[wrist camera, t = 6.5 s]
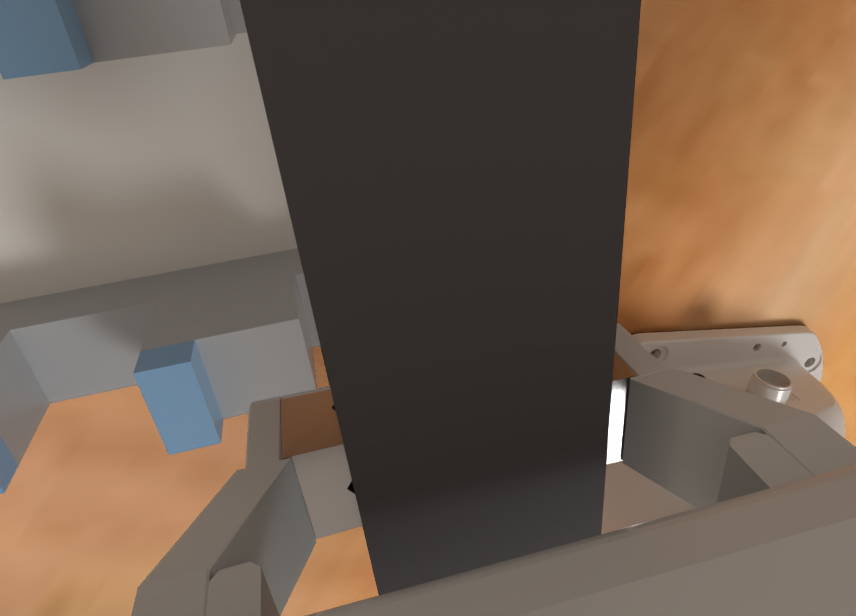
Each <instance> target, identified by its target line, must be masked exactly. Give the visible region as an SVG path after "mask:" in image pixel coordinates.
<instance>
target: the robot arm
mask: <svg viewBox="0 0 856 616" xmlns="http://www.w3.org/2000/svg"><path fill="white" fill-rule="evenodd" d="M653 350H654V351H653ZM652 351H653V352H652ZM651 352H652V353H651ZM822 369H823V355H822V349H821V345H820V342H819V340H818V338H817V336H816V334H815V333H814V332H812V331H811V330H810V329H809V328H808V327H806V326H800V325H797V326H775V327H755V328H735V329H714V330H694V331H674V332H654V333H638V334H634V335H631V334H630V333H629V332H628V331H627V330H626V329H625V328H624V327H623V326H622V325H620V324H618V323H617V329H616V343H615V356H614V370H613V383H612V396H611V410H610V423H609V437H608V450H607V464H606V477H605V490H604V504H603V517H602V531H601V535H597V536H593V537H590V538H586V539H582V540H579V541H575V542H572V543H568V544H564V545H561V546H557V547H553V548H550V549H546V550H542V551H539V552H535V553H532V554H528V555H524V556H521V557H517V558H513V559H510V560H506V561H502V562H499V563H495V564H492V565H488V566H484V567H481V568H477V569H473V570H470V571H466V572H462V573H459V574H455V575H452V576H448V577H444V578H441V579H437V580H433V581H430V582H426V583H422V584H419V585H415V586H412V587H408V588H404V589H401V590H397V591H393V592H390V593H386V594H382V595H379V596H375V597H371V598H368V599H364V600H361V601H357V602H353V603H350V604H346V605H342V606H339V607H335V608H331V609H328V610H324V611H321V612H317V613H313V614H310V615H306V616H856V447H855V446H853V445H852V444H851V443H850V442H848V441H847V440H846V439H845V436H846V424H845V418H844V415H843V412H842V409H841V407H840V405H839V403H838V402H837V400H836V399H835V397H834V396H833V395H832V393H831V392H830V391H829V390H828V389H827V388H826V387H825V386H824V385H823V384H822V383H821V378H822ZM360 526H363V525H362V521H361V517H360V513H359V508H358V504H357V500H356V495H355V491H354V487H353V483H352V478H351V474H350V470H349V466H348V461H347V457H346V453H345V448H344V444H343V440H342V436H341V431H340V427H339V423H338V419H337V414H336V410H335V406H334V401H333V397H332V393H331V389H330V386H329V387H324V388H319V389H314V390H309V391H303V392H298V393H293V394H288V395H283V396H281V397H274V398H269V399H265V400H260V401H255V402H252V403H251V405H250V407H249V416H248V433H247V451H246V468H245V469H241V470H237V471H236V472H235V473H234V474H233V475H232V477H231V478H230V479H229V480H228V481H227V483H226V484H225V485H224V486H223V487H222V489H221V490H220V491H219V492H218V493H217V494H216V496H215V497H214V498H213V499H212V500H211V502H210V503H209V504H208V505H207V506H206V508H205V509H204V510H203V511H202V512H201V513H200V515H199V516H198V517H197V518H196V519H195V521H194V522H193V523H192V524H191V525H190V527H189V528H188V529H187V530H186V531H185V532H184V534H183V535H182V536H181V537H180V538H179V540H178V541H177V542H176V543H175V544H174V545H173V547H172V548H171V549H170V550H169V551H168V553H167V554H166V555H165V556H164V557H163V559H162V560H161V561H160V562H159V563H158V564H157V566H156V567H155V568H154V569H153V570H152V572H151V573H150V574H149V575H148V576H147V578H146V579H145V580H144V581H143V582H142V583H141V585H140V586H139V587H138V589H137V593H136V598H135V602H134V607H133V611H132V615H131V616H280V615H281V613H282V611H283V609H284V607H285V605H286V603H287V601H288V599H289V597H290V595H291V592H292V590H293V588H294V586H295V584H296V582H297V580H298V578H299V576H300V574H301V572H302V570H303V568H304V566H305V564H306V562H307V560H308V558H309V556H310V554H311V552H312V550H313V547H314V545H315V543H316V540H315V539H318V538H322V537H325V536H329V535H332V534H336V533H339V532H343V531H346V530H350V529H353V528H357V527H360Z"/></svg>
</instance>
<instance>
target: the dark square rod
mask: <svg viewBox="0 0 856 616" xmlns="http://www.w3.org/2000/svg"><path fill="white" fill-rule="evenodd" d="M240 4H241V8H242V13H243V17H244V21H245V26H246V30H247V34H248V38H249V43H250V47H251V51H252V55H253V60H254V64H255V68H256V73H257V77H258V81H259V85H260V90H261V94H262V98H263V102H264V107H265V111H266V115H267V120H268V124H269V128H270V132H271V137H272V141H273V145H274V149H275V154H276V158H277V162H278V167H279V171H280V175H281V179H282V184H283V188H284V192H285V196H286V201H287V205H288V209H289V214H290V218H291V222H292V226H293V231H294V235H295V239H296V243H297V248H298V252H299V256H300V261H301V265H302V269H303V273H304V278H305V282H306V286H307V290H308V295H309V299H310V303H311V308H312V312H313V316H314V320H315V325H316V329H317V333H318V337H319V342H320V346H321V350H322V354H323V359H324V363H325V367H326V372H327V376H328V380H329V384H330V389H331V393H332V397H333V401H334V406H335V410H336V414H337V419H338V423H339V427H340V431H341V436H342V440H343V444H344V448H345V453H346V457H347V461H348V466H349V470H350V474H351V478H352V483H353V487H354V491H355V495H356V500H357V504H358V508H359V513H360V517H361V521H362V525H363V530H364V534H365V538H366V542H367V547H368V551H369V555H370V560H371V564H372V568H373V572H374V577H375V581H376V585H377V589H378V594H379V595H382V594H386V593H390V592H393V591H397V590H401V589H404V588H408V587H412V586H415V585H419V584H422V583H426V582H430V581H433V580H437V579H441V578H444V577H448V576H452V575H455V574H459V573H462V572H466V571H470V570H473V569H477V568H481V567H484V566H488V565H492V564H495V563H499V562H502V561H506V560H510V559H513V558H517V557H521V556H524V555H528V554H532V553H535V552H539V551H542V550H546V549H550V548H553V547H557V546H561V545H564V544H568V543H572V542H575V541H579V540H582V539H586V538H590V537H593V536H597V535H601V531H602V517H603V504H604V490H605V477H606V464H607V450H608V437H609V423H610V410H611V396H612V383H613V370H614V356H615V343H616V329H617V316H618V302H619V289H620V276H621V262H622V249H623V235H624V222H625V208H626V195H627V181H628V168H629V155H630V141H631V128H632V114H633V101H634V87H635V74H636V61H637V47H638V34H639V20H640V7H641V0H240Z"/></svg>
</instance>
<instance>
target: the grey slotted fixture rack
mask: <svg viewBox="0 0 856 616" xmlns="http://www.w3.org/2000/svg"><path fill="white" fill-rule="evenodd" d="M318 346H320V342H319V337H318V333H317V329H316V325H315V320H314V316H313V312H312V308H311V303H310V299H309V295H308V290H307V286H306V282H305V278H304V273H303V269H302V265H301V261H300V256H299V252H298V248H297V243H296V239H295V235H294V231H293V226H292V222H291V218H290V214H289V209H288V205H287V201H286V196H285V192H284V188H283V184H282V179H281V175H280V171H279V167H278V162H277V158H276V154H275V149H274V145H273V141H272V137H271V132H270V128H269V124H268V120H267V115H266V111H265V107H264V102H263V98H262V94H261V90H260V85H259V81H258V77H257V73H256V68H255V64H254V60H253V55H252V51H251V47H250V43H249V38H248V34H247V30H246V26H245V21H244V17H243V13H242V8H241V4H240V0H0V494H2V493H5V491H6V489H7V487H8V485H9V483H10V481H11V479H12V477H13V475H14V473H15V471H16V469H17V467H18V465H19V463H20V461H21V459H22V457H23V455H24V454H25V452H26V450H27V448H28V446H29V444H30V442H31V440H32V438H33V436H34V434H35V432H36V430H37V428H38V426H39V424H40V422H41V420H42V418H43V416H44V414H45V412H46V410H47V408H48V406H49V404H50V403H54V402H59V401H64V400H68V399H73V398H78V397H83V396H87V395H92V394H97V393H101V392H106V391H111V390H115V389H120V388H125V387H130V386H134V385H138V386H139V388H140V390H141V393H142V395H143V397H144V400H145V402H146V404H147V406H148V409H149V411H150V413H151V415H152V418H153V420H154V422H155V424H156V427H157V429H158V431H159V433H160V436H161V438H162V440H163V442H164V445H165V447H166V449H167V452H168V454H169V455H171V454H175V453H179V452H184V451H188V450H192V449H197V448H201V447H205V446H210V445H214V444H218V443H221V438H222V427H223V419H225V418H229V417H234V416H238V415H243V414H247V413H249V407H250V405H251V403H252V402H255V401H260V400H265V399H269V398H274V397H281V396H283V395H288V394H293V393H298V392H303V391H309V390H314V389H317V383H316V374H315V366H314V358H313V350H312V348H313V347H318Z"/></svg>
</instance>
